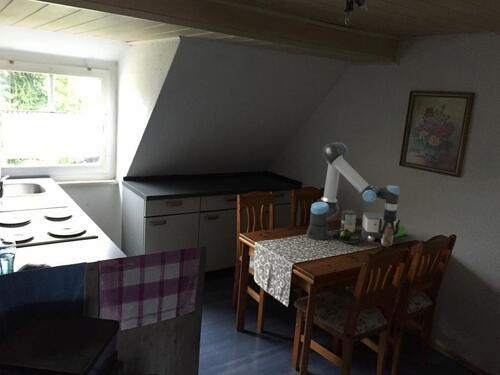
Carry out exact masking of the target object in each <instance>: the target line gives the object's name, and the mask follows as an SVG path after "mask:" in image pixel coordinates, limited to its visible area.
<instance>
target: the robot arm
mask: <svg viewBox="0 0 500 375" xmlns="http://www.w3.org/2000/svg"><path fill="white" fill-rule="evenodd" d="M322 156H323V158H324V159H325V160H326V162H327V164H328V165H327V170H326V171H327V173H326V178H325V185H324V191H323V196H322V197H320V201H316V202H314V203H312V204H311V205H310V206H311V208H310V220H309V226H308V228H307V230H306V237H307V238H309V239H312V240H316V241H317V240H319V241H321V240H322V241H323V240H327V239H329V238H330V235H329V231H328V220H329V219H331V218H334V217H335V216H336V215H337V214H338V212H339V205H338V199H337V193H338V187H339V186H338V185H339V180H340V179H339V178H340V174H341V175H342V177H344V178H345V179H346V180H347V181H348V182H349V183H350V184H351V185H352V186H353V187H354V188H355V189H356V190H357V191H358V193H359V194H361V195H362V199H363V201H364V202H366V203H372V202H374V201H375V200H377V199H380V200H385V203H384V204H385V205H384V208H385V209H384V212H383V213H384V216H383V217H382V218H379V227H378V232H379V233H381V235H380V238H382V239H381V240H380V243H381V245H382V244H383V242H384V231H385V228H386V226H387V224H388V223H390V224H391V228H392V229H393V236H392V242H393V240H394V239H395V238H396V237H395V234H398V229H399V227H400V222H401V219H400V218H398V217H397V214H398V213H397V211H398V202H399V195H400V187H399V186H397V185H392V184H391V185H390V184H389V185H387V187H382V186H381V187H380V186H377V185H370V184H369V183H368V182H367V181H366V180H365V179H364V178H363V177H362V176H361V175H360V174H359V172H357V171H356V170H355V169H354V168H353V167H352V166H351V165H350V164H349V163H348V162H347V161H346V160H345V158H346V156H348V147H347V145H346V144H345V143H343V142H338V141H337V142H332V143H330V142H329V143H328V144H326V145H325V146H324V147H323V149H322ZM383 219H384V221H385V222H384V225H383V227H382V221H383ZM395 220H396V229H395V230H394V221H395ZM381 227H382V230H381Z"/></svg>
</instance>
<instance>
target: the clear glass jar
mask: <svg viewBox="0 0 500 375" xmlns="http://www.w3.org/2000/svg"><path fill="white" fill-rule="evenodd" d="M356 219H357V211H355V210H351V209H343V210H342V212H341V224H340V231H342V230H345V229H348V230H349V231H350V232H349V233H354V232H355V230H356V221H357V220H356Z"/></svg>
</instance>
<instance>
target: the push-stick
mask: <svg viewBox="0 0 500 375" xmlns="http://www.w3.org/2000/svg"><path fill="white" fill-rule="evenodd" d="M392 236H393V229H392V228H391V227H386V228H385V231H384V242H383V244H382V243H381V245H382V246H383V247H387V248H389V246H391V247H392V245H393V241H392ZM381 239H382V238H380V239H379V240H380V241H381Z"/></svg>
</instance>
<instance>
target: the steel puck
mask: <svg viewBox="0 0 500 375" xmlns="http://www.w3.org/2000/svg"><path fill="white" fill-rule="evenodd" d="M375 240H376V238H375V236H373V235H368V238H367V241H369V242H375Z"/></svg>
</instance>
